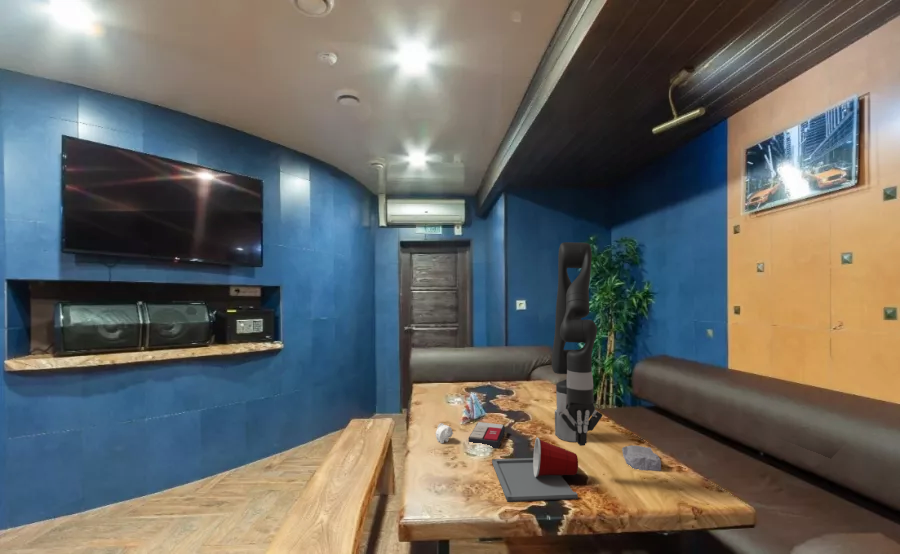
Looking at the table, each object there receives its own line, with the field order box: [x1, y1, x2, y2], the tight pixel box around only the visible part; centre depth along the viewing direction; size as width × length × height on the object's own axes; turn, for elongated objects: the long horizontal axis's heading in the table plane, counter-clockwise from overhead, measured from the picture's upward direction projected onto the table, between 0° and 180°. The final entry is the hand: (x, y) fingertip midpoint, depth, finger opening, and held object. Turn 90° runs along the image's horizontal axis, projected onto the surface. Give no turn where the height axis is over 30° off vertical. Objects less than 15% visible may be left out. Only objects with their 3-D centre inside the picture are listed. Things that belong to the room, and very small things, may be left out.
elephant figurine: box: [434, 422, 454, 444], centre depth 133 cm, size 7×8×6 cm
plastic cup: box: [532, 437, 579, 477], centre depth 106 cm, size 11×11×12 cm
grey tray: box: [491, 457, 579, 503], centre depth 105 cm, size 19×22×1 cm
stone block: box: [621, 444, 662, 472], centre depth 116 cm, size 12×5×10 cm
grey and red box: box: [468, 421, 505, 450], centre depth 135 cm, size 11×4×15 cm
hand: (581, 444), depth 106 cm, fingers closed
